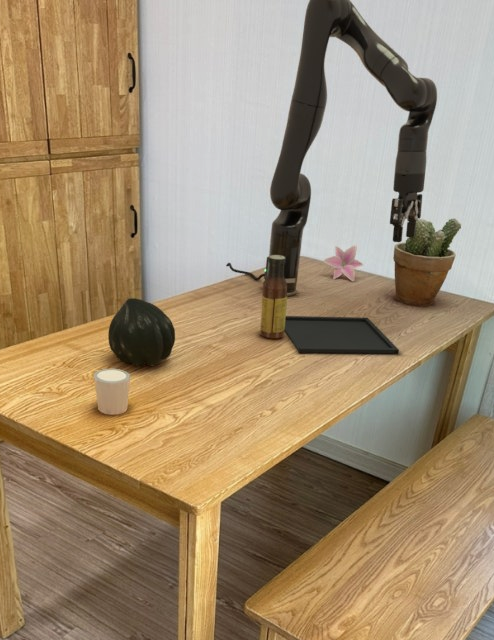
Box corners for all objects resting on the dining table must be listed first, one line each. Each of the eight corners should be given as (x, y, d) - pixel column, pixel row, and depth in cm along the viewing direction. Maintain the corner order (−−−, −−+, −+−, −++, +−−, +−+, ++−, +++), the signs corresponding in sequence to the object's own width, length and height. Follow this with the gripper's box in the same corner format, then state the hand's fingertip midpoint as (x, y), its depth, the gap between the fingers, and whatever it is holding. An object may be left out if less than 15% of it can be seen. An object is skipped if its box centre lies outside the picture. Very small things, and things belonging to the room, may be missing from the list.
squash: (196, 335, 159) (156, 279, 155) (168, 359, 147) (124, 299, 143) (154, 364, 167) (115, 311, 163) (124, 389, 155) (81, 332, 151)
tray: (299, 353, 171) (300, 348, 170) (277, 319, 190) (278, 315, 190) (398, 354, 177) (399, 349, 176) (367, 321, 196) (367, 317, 195)
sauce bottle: (284, 332, 182) (293, 255, 171) (282, 341, 177) (292, 261, 166) (259, 329, 182) (267, 252, 172) (257, 338, 177) (264, 258, 166)
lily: (316, 277, 234) (323, 255, 225) (333, 257, 239) (340, 236, 231) (346, 295, 232) (354, 274, 224) (362, 275, 238) (371, 254, 229)
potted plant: (408, 312, 207) (427, 224, 194) (372, 292, 220) (387, 209, 207) (455, 308, 215) (476, 223, 201) (418, 289, 228) (435, 209, 215)
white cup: (96, 399, 139) (95, 367, 135) (131, 401, 140) (131, 368, 136) (92, 415, 134) (91, 381, 130) (129, 416, 134) (128, 383, 131)
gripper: (407, 168, 180) (401, 234, 188) (384, 172, 170) (378, 242, 178) (435, 169, 177) (427, 237, 184) (413, 173, 166) (406, 244, 174)
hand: (403, 239), depth 181 cm, fingers open, 8 cm apart
